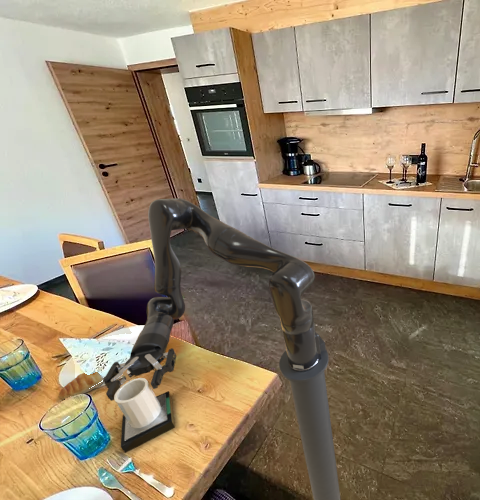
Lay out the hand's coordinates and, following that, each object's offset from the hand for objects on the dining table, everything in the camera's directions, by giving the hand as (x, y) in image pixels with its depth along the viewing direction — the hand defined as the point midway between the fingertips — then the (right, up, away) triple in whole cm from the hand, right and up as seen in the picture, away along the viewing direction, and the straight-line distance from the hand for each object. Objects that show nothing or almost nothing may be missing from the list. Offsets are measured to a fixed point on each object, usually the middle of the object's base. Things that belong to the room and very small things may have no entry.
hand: (132, 391), depth 65 cm
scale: (+1, -10, +5) cm, 11 cm away
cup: (0, -7, +4) cm, 8 cm away
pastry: (-25, -6, +16) cm, 30 cm away
